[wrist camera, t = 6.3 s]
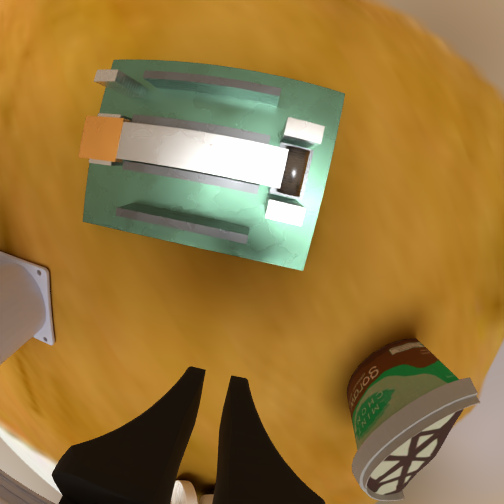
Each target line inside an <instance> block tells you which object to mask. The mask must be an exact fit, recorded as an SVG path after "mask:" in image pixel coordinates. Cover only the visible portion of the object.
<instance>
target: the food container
mask: <svg viewBox="0 0 504 504" xmlns="http://www.w3.org/2000/svg"><path fill="white" fill-rule="evenodd" d="M476 395H477V391H476V389H475V387H474V385H473V383H472V381H471V379H470V378H465V379H460V380H459V379H458V378H457V377H456V376H455V375H454V374H453V373H452V372H451V371H450V370H449V369H448V368H447V367H446V366H445V365H444V364H443V363H441V362H440V361H439V360H438V359H437V358H436V357H435V356H434V355H433V354H432V353H431V352H430V351H429V350H428V349H427V348H426V347H425V346H424V345H422V344H421V343H420V342H419V341H418V340H417V339H404V340H401V341H397V342H394V343H391V344H388V345H386V346H385V347H383V348H381V349H379V350H378V351H376V352H374V353H372V354H371V355H370V356H369V357H368V358H367V359H366V360H365V361H364V362H362V363H361V364H360V365H359V367H358V368H357V369H356V371H355V372H354V374H353V375H352V377H351V379H350V381H349V384H348V388H347V397H348V403H349V407H350V412H351V418H352V423H353V428H354V433H355V439H356V444H357V450H358V451H357V453H356V455H355V457H354V459H353V463H352V472H353V474H354V476H355V478H356V480H357V482H358V483H359V485H360V487H361V489H362V490H363V491H364V492H366V493H367V495H369V496H370V497H371V498H373V499H375V500H380V501H394V500H401V499H404V495H403V491H402V489H403V488H404V487H405V486H406V485H407V484H408V482H409V481H410V480H411V479H412V478H413V477H414V476H415V475H416V473H417V472H419V471H420V470H421V469H422V468H423V467H424V466H426V465H427V464H428V463H429V462H430V461H431V460H432V459H433V458H434V457H435V456H436V454H437V452H438V451H439V449H440V448H441V446H442V444H443V442H444V441H445V439H446V437H447V435H448V433H449V432H450V430H451V428H452V426H453V425H454V423H455V422H456V420H457V419H458V417H459V416H460V414H461V412H462V411H463V409H464V408H466V407H469V406H472V405H476V404H479V403H480V401H479V400H478V398H477V397H476Z"/></svg>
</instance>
